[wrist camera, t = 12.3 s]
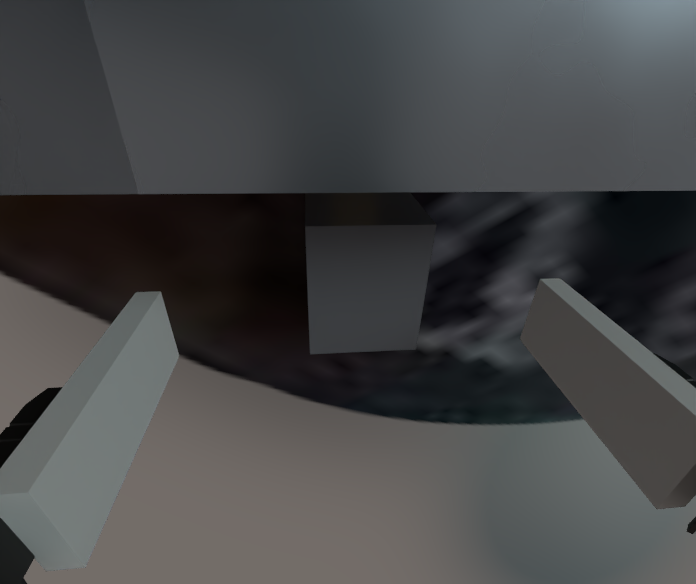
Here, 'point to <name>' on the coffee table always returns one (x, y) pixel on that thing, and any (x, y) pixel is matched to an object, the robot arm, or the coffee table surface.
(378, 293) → the yellow handled grey mallet
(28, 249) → the coffee table surface
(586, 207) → the coffee table surface
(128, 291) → the coffee table surface
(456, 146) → the housing
